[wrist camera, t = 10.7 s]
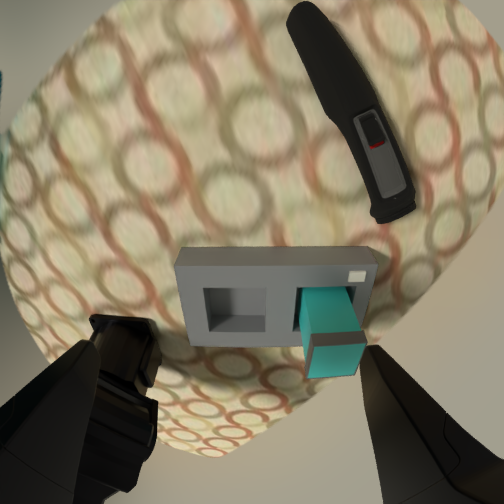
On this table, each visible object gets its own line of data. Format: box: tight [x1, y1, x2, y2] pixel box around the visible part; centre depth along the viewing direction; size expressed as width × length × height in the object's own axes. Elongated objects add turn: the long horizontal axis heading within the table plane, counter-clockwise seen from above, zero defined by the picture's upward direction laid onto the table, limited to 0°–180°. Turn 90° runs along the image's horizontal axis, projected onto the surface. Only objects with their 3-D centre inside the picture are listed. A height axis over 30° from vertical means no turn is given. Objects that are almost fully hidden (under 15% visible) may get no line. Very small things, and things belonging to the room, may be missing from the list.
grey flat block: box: [174, 246, 378, 347], centre depth 23 cm, size 14×8×3 cm, turn 91°
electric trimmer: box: [286, 1, 416, 224], centre depth 16 cm, size 4×16×3 cm, turn 30°
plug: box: [297, 286, 368, 379], centre depth 20 cm, size 3×3×7 cm
